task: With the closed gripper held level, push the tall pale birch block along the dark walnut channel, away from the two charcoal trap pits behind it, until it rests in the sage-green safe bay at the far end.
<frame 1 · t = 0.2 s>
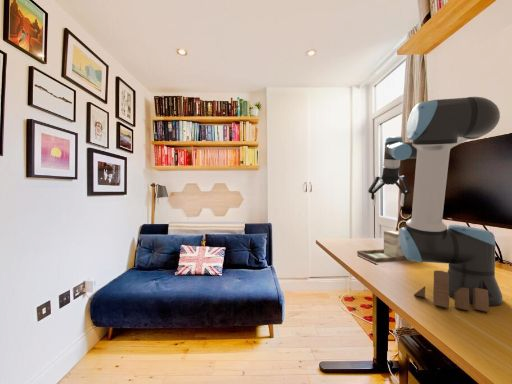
hand: (387, 205, 131), 27 cm above the table, tool tilted 15°, fingers open, 13 cm apart
wooden block set: (449, 307, 74), on the table
birch block: (398, 255, 125), point 1 cm above the table, touching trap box
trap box: (404, 257, 126), on the table
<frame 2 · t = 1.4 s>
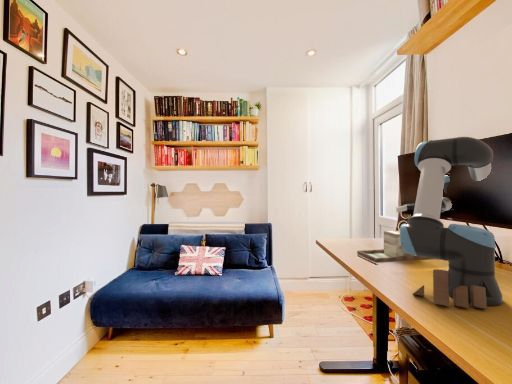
hand: (407, 211, 125), 24 cm above the table, tool horizontal, fingers open, 13 cm apart
wooden block set: (448, 305, 75), on the table, touching arm
everything else where it was.
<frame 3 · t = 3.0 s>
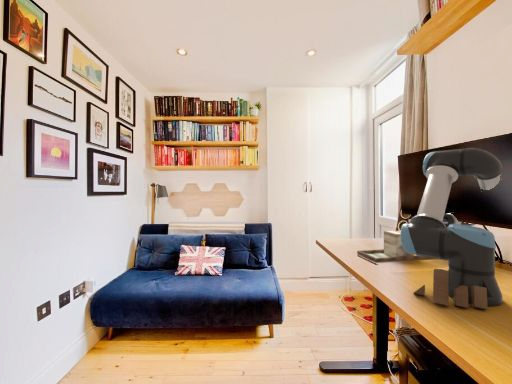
hand: (409, 222, 126), 19 cm above the table, tool horizontal, fingers closed
wooden block set: (448, 305, 76), on the table
everything else where it was.
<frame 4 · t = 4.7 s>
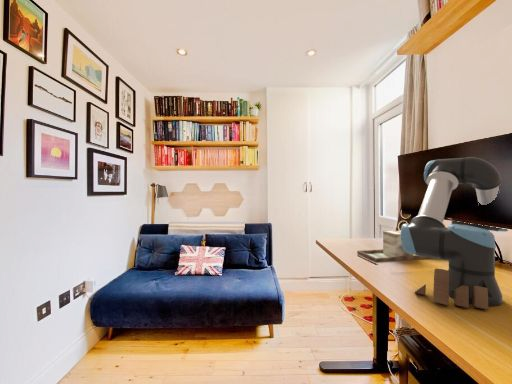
hand: (406, 241, 126), 8 cm above the table, tool horizontal, fingers closed
nothing on the table moved.
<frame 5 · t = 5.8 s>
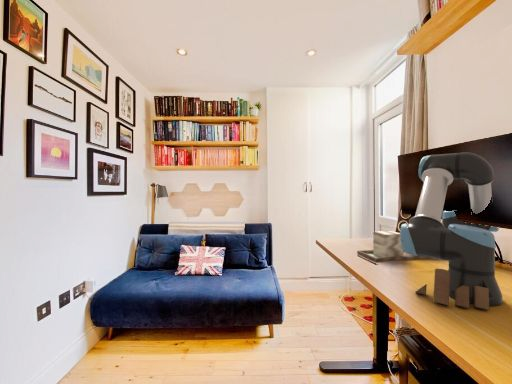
hand: (396, 242, 125), 8 cm above the table, tool horizontal, fingers closed
birch block: (387, 255, 124), point 2 cm above the table, touching gripper
everything else where it was.
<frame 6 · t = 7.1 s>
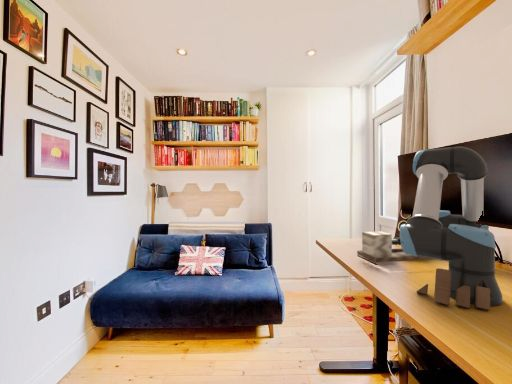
hand: (385, 242, 124), 9 cm above the table, tool horizontal, fingers closed
birch block: (376, 256, 123), point 2 cm above the table, touching gripper, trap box
everything else where it was.
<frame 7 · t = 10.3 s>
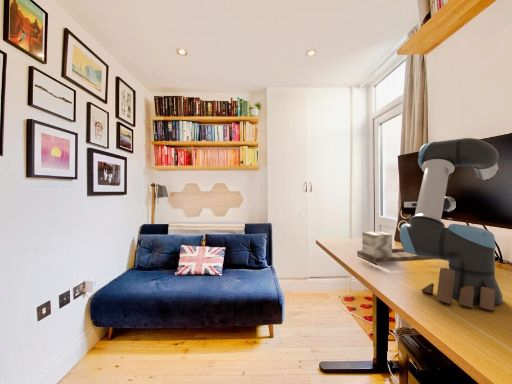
hand: (405, 204, 125), 28 cm above the table, tool horizontal, fingers closed
wooden block set: (454, 304, 76), on the table
birch block: (376, 256, 123), point 1 cm above the table, touching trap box
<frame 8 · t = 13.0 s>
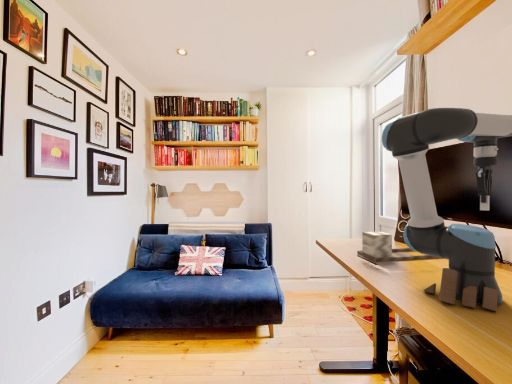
hand: (484, 210, 107), 26 cm above the table, tool pointing down, fingers closed
nothing on the table moved.
at the end: birch block inside the target area (2.3 cm from its centre), point 1.5 cm above the table; birch block tilted 0° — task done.
